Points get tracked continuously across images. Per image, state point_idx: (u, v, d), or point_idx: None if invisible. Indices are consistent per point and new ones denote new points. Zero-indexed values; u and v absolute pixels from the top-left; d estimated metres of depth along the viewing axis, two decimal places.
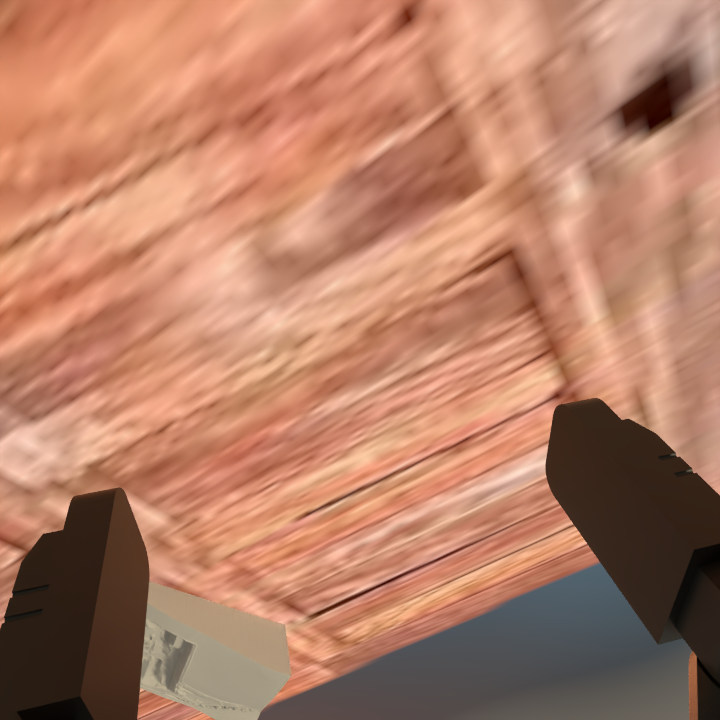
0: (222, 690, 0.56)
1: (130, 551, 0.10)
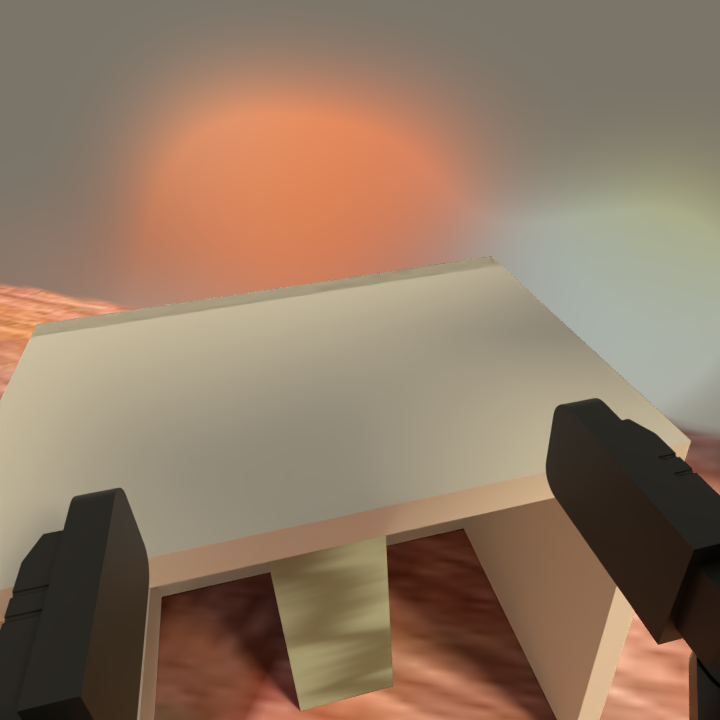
0: None
1: (130, 552, 0.10)
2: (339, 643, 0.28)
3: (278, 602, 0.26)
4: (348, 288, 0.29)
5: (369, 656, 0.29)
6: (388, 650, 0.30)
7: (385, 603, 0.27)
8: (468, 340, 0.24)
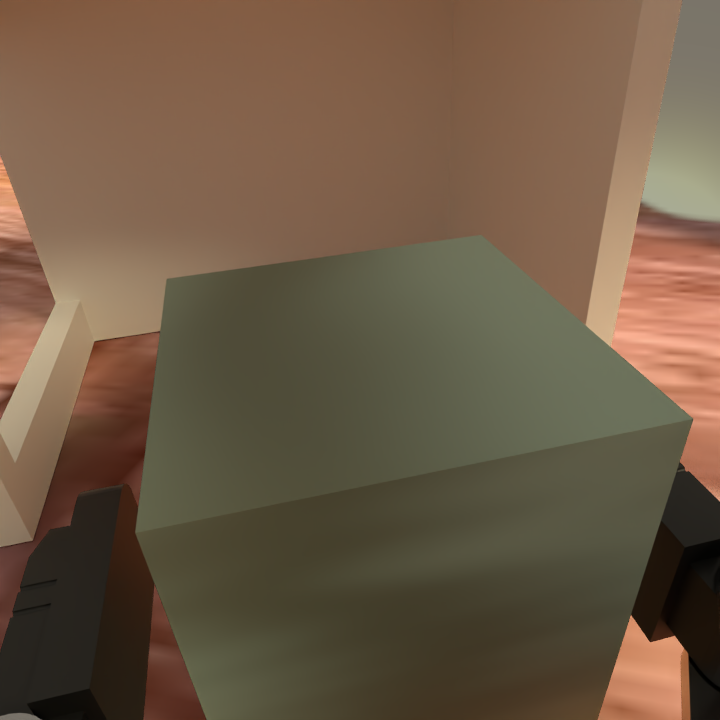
0: None
1: (136, 548, 0.10)
2: None
3: (210, 712, 0.06)
4: None
5: None
6: None
7: (593, 695, 0.08)
8: None
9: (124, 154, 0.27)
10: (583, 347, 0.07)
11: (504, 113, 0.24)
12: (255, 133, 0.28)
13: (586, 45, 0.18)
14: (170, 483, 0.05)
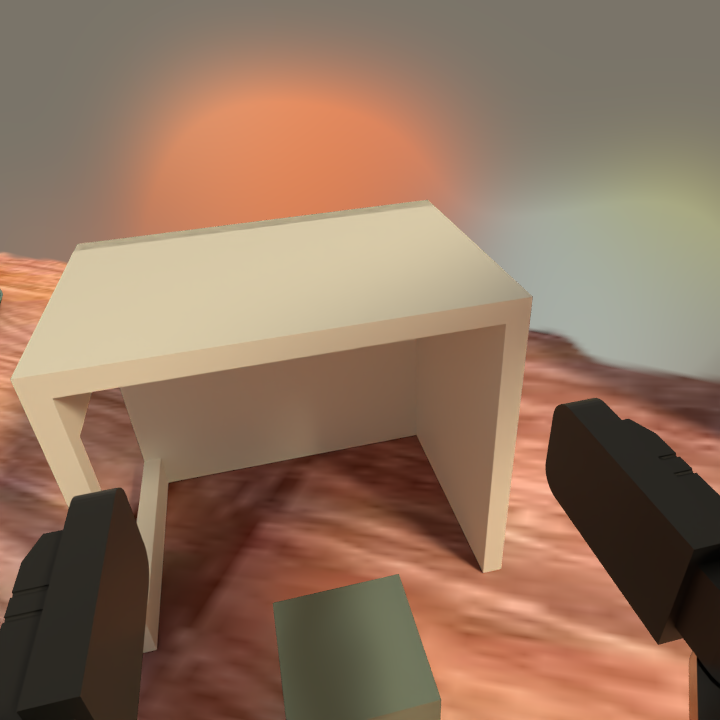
0: None
1: (130, 552, 0.10)
2: None
3: None
4: (314, 220, 0.37)
5: None
6: None
7: None
8: (396, 248, 0.33)
9: None
10: (419, 660, 0.20)
11: (445, 366, 0.38)
12: None
13: (480, 375, 0.32)
14: None
